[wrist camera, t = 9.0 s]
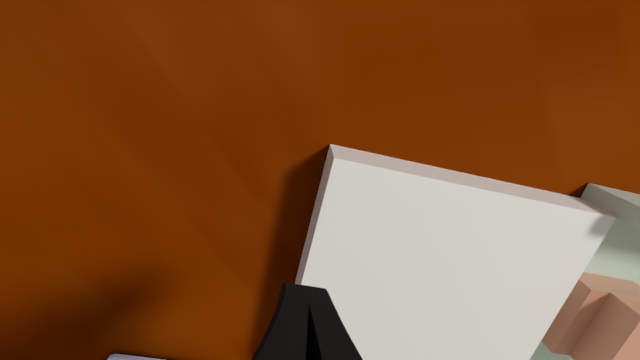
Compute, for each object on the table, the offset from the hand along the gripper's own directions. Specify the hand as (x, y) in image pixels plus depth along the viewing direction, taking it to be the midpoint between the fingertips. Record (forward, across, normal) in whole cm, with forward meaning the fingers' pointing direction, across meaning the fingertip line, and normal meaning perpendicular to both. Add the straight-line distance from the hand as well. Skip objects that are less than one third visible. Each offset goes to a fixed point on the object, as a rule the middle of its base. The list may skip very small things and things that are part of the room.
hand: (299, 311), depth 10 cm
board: (+9, -9, +4) cm, 13 cm away
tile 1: (+9, -20, +4) cm, 22 cm away
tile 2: (+7, -21, +4) cm, 23 cm away
